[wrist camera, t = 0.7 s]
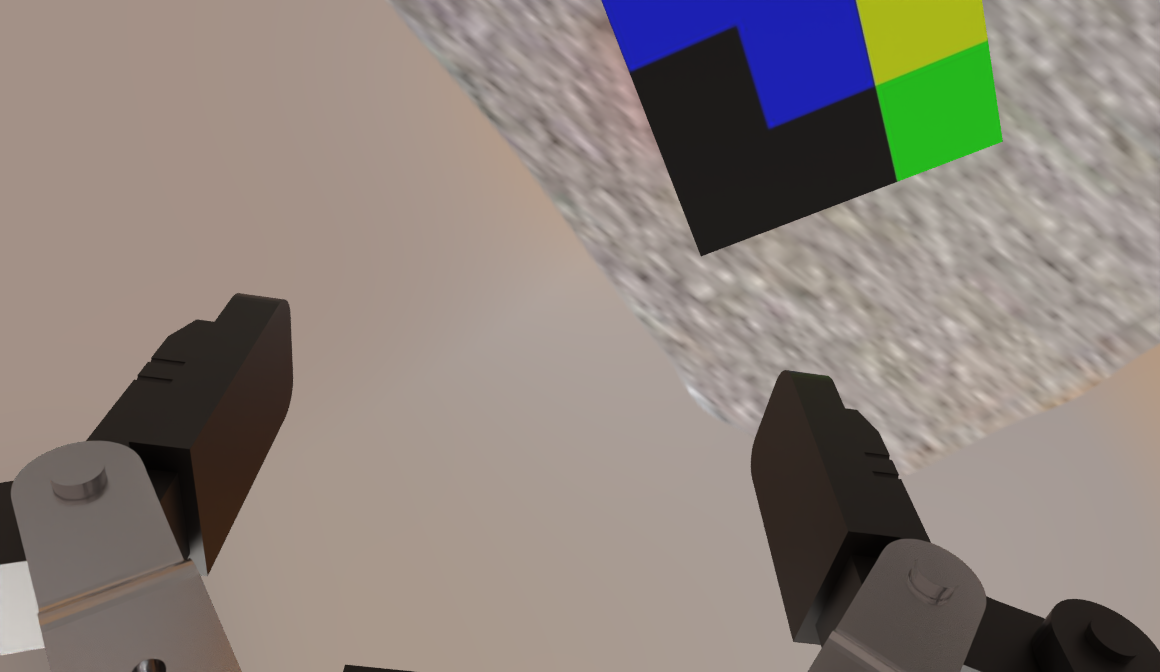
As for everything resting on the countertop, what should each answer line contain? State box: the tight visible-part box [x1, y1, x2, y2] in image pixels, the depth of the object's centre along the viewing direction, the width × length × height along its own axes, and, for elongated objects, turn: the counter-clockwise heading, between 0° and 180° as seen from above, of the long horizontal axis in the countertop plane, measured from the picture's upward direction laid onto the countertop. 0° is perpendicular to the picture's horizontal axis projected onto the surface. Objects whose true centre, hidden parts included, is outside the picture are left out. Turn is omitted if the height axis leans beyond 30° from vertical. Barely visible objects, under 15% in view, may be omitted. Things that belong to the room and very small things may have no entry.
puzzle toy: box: [601, 0, 1003, 256], centre depth 28 cm, size 10×10×10 cm
